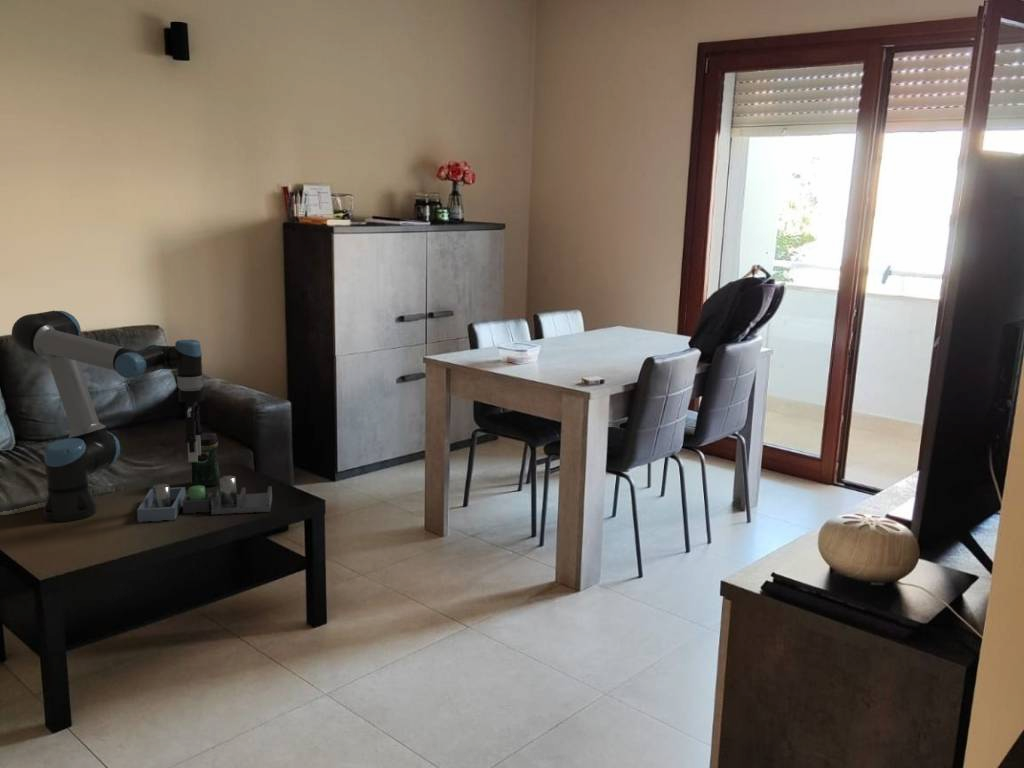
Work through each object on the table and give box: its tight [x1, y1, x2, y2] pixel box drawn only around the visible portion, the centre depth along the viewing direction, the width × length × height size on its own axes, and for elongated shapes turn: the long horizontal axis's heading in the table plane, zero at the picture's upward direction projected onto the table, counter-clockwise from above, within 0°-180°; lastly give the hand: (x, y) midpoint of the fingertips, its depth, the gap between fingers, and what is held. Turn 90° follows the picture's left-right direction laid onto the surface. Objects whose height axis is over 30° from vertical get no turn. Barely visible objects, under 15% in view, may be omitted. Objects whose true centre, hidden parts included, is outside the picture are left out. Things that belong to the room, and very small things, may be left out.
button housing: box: [182, 492, 213, 514], centre depth 287 cm, size 8×8×4 cm
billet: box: [152, 483, 172, 508], centre depth 285 cm, size 5×5×8 cm
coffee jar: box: [190, 432, 221, 487], centre depth 312 cm, size 10×8×19 cm
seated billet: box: [219, 475, 238, 504], centre depth 288 cm, size 5×5×8 cm
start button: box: [188, 485, 206, 500], centre depth 287 cm, size 5×5×6 cm
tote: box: [136, 486, 187, 523], centre depth 286 cm, size 11×22×4 cm, turn 12°
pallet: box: [210, 485, 273, 516], centre depth 290 cm, size 18×14×4 cm
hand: (195, 458), depth 284 cm, fingers open, 7 cm apart
